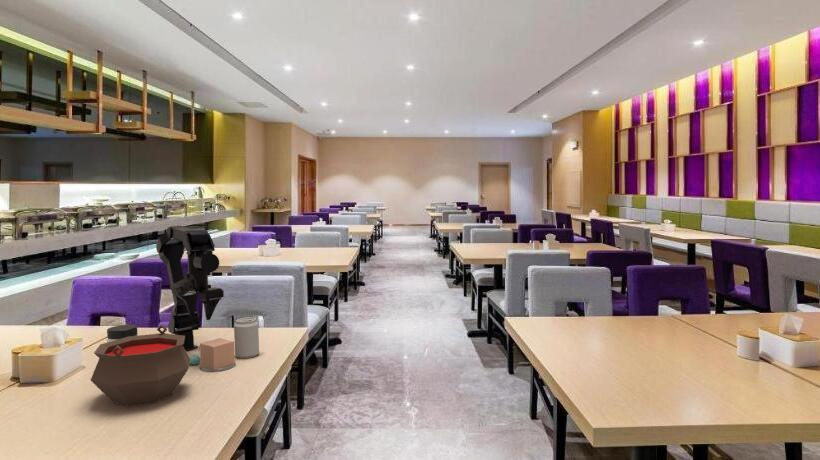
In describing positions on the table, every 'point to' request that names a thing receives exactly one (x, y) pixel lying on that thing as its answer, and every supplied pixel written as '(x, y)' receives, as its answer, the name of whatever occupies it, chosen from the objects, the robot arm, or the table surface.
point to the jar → (121, 332)
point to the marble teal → (194, 359)
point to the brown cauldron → (141, 367)
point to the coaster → (218, 369)
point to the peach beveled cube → (217, 354)
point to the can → (246, 337)
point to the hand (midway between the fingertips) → (199, 318)
